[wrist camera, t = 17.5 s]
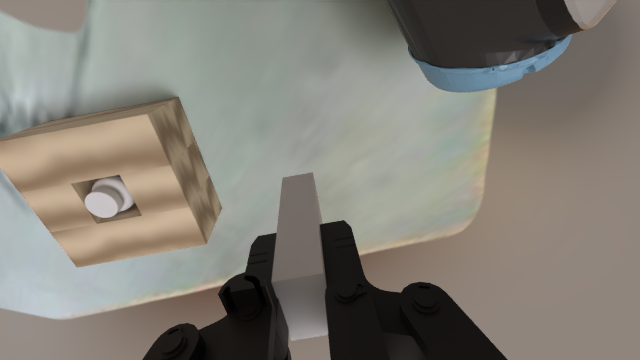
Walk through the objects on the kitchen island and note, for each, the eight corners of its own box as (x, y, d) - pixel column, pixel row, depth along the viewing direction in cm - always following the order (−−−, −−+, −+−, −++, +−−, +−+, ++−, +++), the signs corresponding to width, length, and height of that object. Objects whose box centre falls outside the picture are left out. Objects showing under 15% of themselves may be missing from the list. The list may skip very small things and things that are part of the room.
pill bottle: (149, 193, 48) (116, 229, 39) (115, 179, 46) (73, 212, 37) (160, 168, 46) (128, 199, 37) (125, 152, 44) (83, 180, 35)
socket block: (48, 121, 43) (-18, 144, 34) (178, 97, 42) (147, 114, 33) (114, 227, 52) (77, 267, 43) (221, 208, 52) (206, 244, 43)
